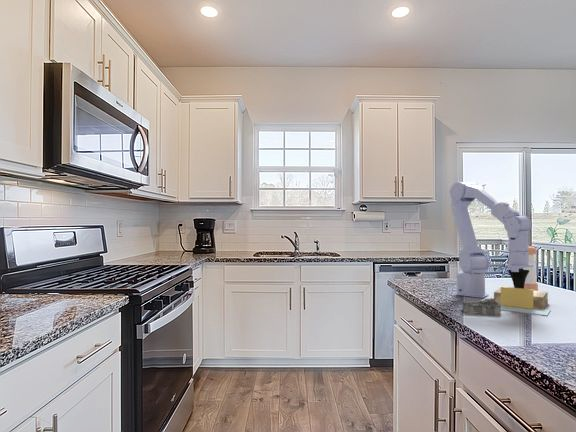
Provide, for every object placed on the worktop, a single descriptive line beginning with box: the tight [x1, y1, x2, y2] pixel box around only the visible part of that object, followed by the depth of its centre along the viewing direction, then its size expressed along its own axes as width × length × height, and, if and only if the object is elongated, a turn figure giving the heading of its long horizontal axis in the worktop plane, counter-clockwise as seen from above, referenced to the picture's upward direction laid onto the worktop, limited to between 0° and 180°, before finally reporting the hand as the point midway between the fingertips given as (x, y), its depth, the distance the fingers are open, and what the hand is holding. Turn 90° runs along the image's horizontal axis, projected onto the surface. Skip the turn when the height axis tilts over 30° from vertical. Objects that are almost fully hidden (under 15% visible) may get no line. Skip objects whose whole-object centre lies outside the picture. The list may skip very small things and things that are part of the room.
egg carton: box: [461, 297, 502, 316], centre depth 117 cm, size 11×8×4 cm
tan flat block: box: [493, 287, 549, 309], centre depth 127 cm, size 14×12×4 cm
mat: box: [498, 303, 551, 317], centre depth 119 cm, size 18×8×1 cm, turn 49°
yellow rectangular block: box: [500, 286, 534, 309], centre depth 122 cm, size 9×6×2 cm
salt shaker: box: [523, 244, 539, 291], centre depth 149 cm, size 7×7×19 cm
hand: (519, 291), depth 125 cm, fingers closed
